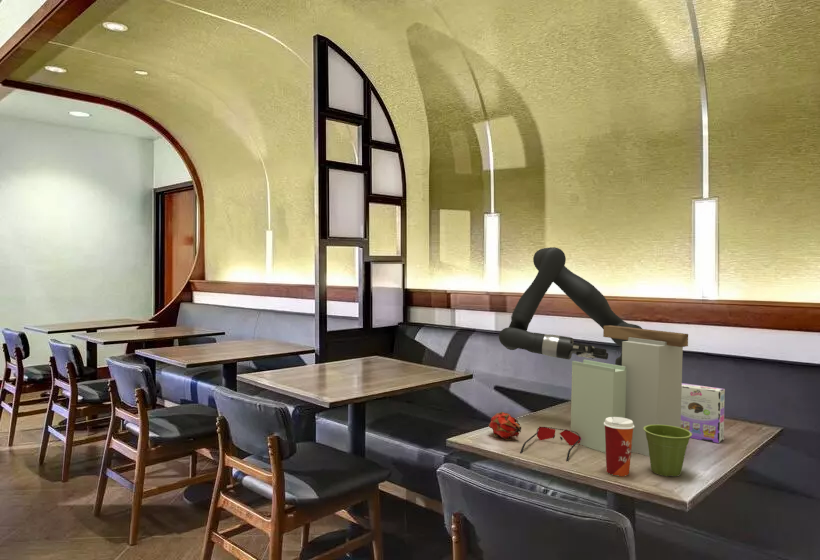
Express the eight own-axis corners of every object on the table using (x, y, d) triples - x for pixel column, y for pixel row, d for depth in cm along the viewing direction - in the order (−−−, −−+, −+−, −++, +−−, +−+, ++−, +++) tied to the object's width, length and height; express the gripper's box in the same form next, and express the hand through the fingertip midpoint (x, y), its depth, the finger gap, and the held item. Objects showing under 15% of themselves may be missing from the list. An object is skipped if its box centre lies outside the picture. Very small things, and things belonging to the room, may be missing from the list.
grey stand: (643, 441, 184) (646, 335, 183) (679, 451, 174) (682, 340, 173) (619, 447, 177) (622, 338, 176) (656, 458, 168) (659, 342, 167)
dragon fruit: (491, 436, 192) (518, 451, 183) (477, 425, 187) (504, 440, 178) (505, 414, 194) (532, 428, 185) (492, 402, 189) (519, 416, 180)
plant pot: (641, 476, 153) (642, 433, 153) (643, 462, 164) (644, 422, 164) (691, 483, 149) (692, 439, 148) (690, 469, 159) (691, 427, 159)
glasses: (581, 447, 179) (582, 430, 178) (567, 463, 164) (568, 445, 164) (536, 440, 185) (536, 424, 185) (519, 454, 171) (519, 437, 171)
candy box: (724, 440, 187) (726, 388, 186) (718, 444, 183) (720, 391, 182) (679, 431, 196) (680, 381, 196) (672, 434, 192) (674, 384, 191)
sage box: (583, 438, 186) (584, 359, 185) (624, 451, 174) (626, 366, 173) (570, 441, 183) (572, 361, 182) (611, 454, 170) (613, 368, 170)
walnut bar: (610, 336, 189) (610, 325, 189) (687, 346, 168) (688, 333, 168) (603, 336, 187) (603, 325, 187) (681, 347, 166) (681, 334, 166)
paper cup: (629, 480, 151) (631, 425, 150) (599, 474, 155) (600, 420, 154) (636, 471, 157) (637, 418, 157) (606, 465, 161) (607, 414, 161)
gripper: (556, 332, 196) (607, 340, 189) (562, 339, 209) (610, 346, 202) (552, 354, 194) (603, 363, 188) (558, 359, 207) (606, 368, 201)
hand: (607, 354), depth 195 cm, fingers open, 8 cm apart
